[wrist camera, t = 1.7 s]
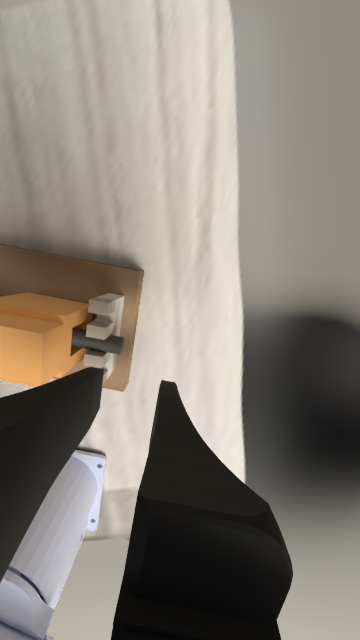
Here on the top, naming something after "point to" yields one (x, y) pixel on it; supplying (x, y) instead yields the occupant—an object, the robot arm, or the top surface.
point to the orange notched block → (39, 337)
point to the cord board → (87, 287)
